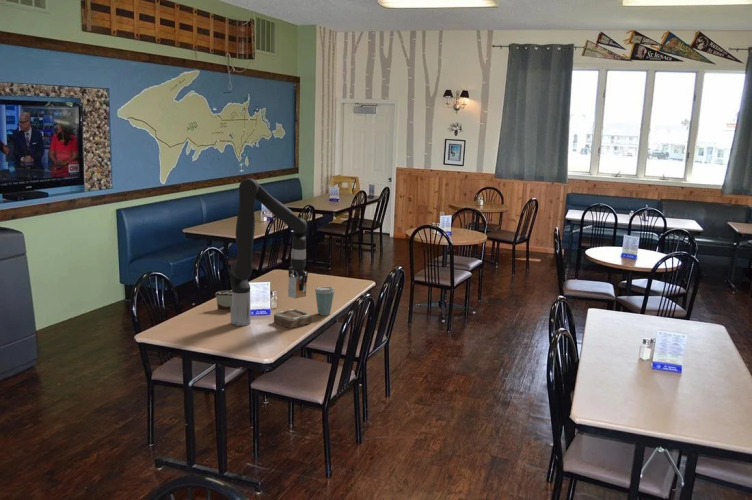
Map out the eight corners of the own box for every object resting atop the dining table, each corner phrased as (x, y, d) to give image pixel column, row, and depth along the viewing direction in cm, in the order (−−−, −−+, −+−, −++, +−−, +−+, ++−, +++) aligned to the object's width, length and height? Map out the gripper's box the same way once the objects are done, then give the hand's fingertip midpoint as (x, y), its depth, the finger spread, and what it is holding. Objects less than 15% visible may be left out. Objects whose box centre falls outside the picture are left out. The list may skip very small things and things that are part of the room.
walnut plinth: (290, 328, 329) (290, 319, 328) (273, 322, 338) (273, 313, 337) (311, 323, 338) (311, 314, 337) (295, 317, 348) (295, 308, 347)
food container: (240, 308, 361) (240, 290, 359) (237, 311, 355) (236, 293, 353) (219, 306, 362) (218, 289, 360) (215, 310, 356) (215, 292, 354)
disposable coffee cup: (310, 314, 353) (311, 288, 350) (321, 309, 363) (321, 284, 360) (327, 317, 349) (327, 291, 346) (337, 312, 358) (338, 286, 355)
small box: (295, 299, 330) (296, 279, 328) (287, 296, 333) (288, 276, 331) (306, 296, 336) (307, 276, 334) (298, 294, 339) (299, 274, 337)
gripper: (284, 255, 333) (283, 286, 336) (301, 260, 323) (299, 293, 326) (296, 254, 338) (294, 285, 341) (313, 259, 328) (311, 291, 331)
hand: (297, 288), depth 334 cm, fingers closed on small box, 6 cm apart
